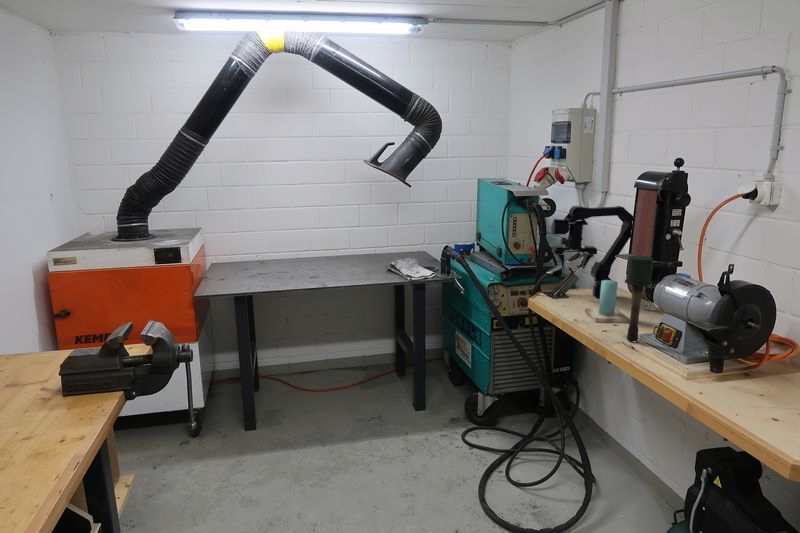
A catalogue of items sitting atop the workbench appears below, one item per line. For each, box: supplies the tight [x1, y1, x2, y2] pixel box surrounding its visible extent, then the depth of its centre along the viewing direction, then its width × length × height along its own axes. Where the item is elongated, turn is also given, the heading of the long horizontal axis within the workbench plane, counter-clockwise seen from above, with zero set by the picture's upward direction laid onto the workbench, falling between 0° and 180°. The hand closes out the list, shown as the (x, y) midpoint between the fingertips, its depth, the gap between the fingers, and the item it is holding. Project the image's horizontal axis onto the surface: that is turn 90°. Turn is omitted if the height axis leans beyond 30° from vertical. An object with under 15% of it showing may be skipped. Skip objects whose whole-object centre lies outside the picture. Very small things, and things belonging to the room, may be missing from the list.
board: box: [584, 308, 630, 323], centre depth 214 cm, size 13×13×2 cm
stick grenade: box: [624, 255, 654, 342], centre depth 185 cm, size 8×9×30 cm
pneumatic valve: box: [641, 298, 658, 312], centre depth 222 cm, size 6×12×12 cm, turn 105°
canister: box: [598, 279, 618, 316], centre depth 213 cm, size 6×6×13 cm
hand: (572, 268), depth 241 cm, fingers open, 9 cm apart
